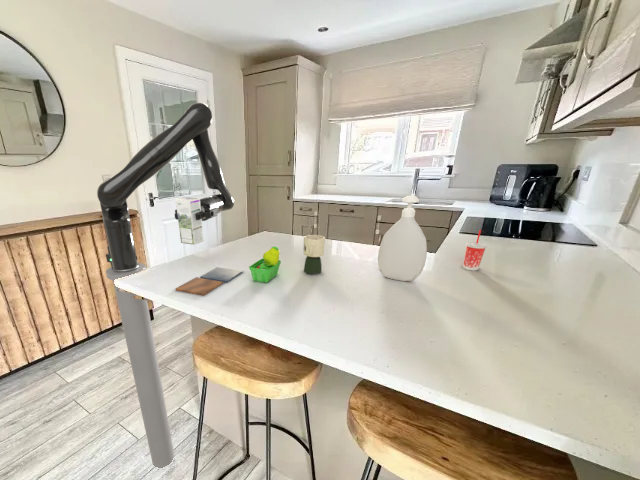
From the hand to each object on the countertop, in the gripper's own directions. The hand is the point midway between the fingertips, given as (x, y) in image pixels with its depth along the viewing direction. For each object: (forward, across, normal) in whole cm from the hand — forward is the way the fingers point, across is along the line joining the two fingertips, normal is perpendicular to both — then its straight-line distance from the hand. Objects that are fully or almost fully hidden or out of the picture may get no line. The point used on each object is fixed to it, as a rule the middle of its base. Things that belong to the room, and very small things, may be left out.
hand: (186, 216), depth 98 cm
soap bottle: (-14, +69, +22) cm, 73 cm away
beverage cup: (-29, +95, +22) cm, 102 cm away
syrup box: (-2, 0, +9) cm, 9 cm away
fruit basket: (-6, +25, +22) cm, 34 cm away
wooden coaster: (+6, +5, +22) cm, 23 cm away
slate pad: (-6, +8, +22) cm, 24 cm away
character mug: (-14, +40, +22) cm, 48 cm away
